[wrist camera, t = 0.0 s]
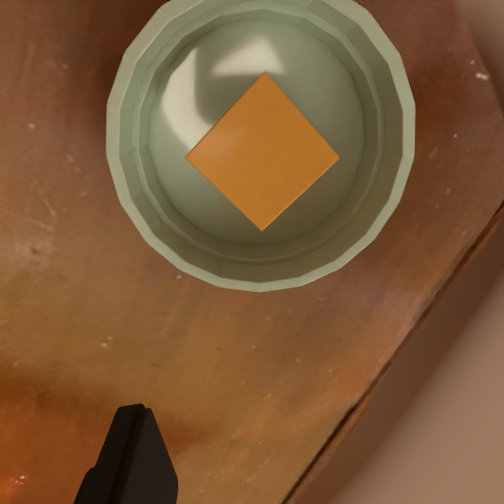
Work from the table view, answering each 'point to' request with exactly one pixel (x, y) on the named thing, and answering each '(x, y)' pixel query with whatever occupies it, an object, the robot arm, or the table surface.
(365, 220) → the celadon bowl
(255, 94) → the cube
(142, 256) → the table surface
